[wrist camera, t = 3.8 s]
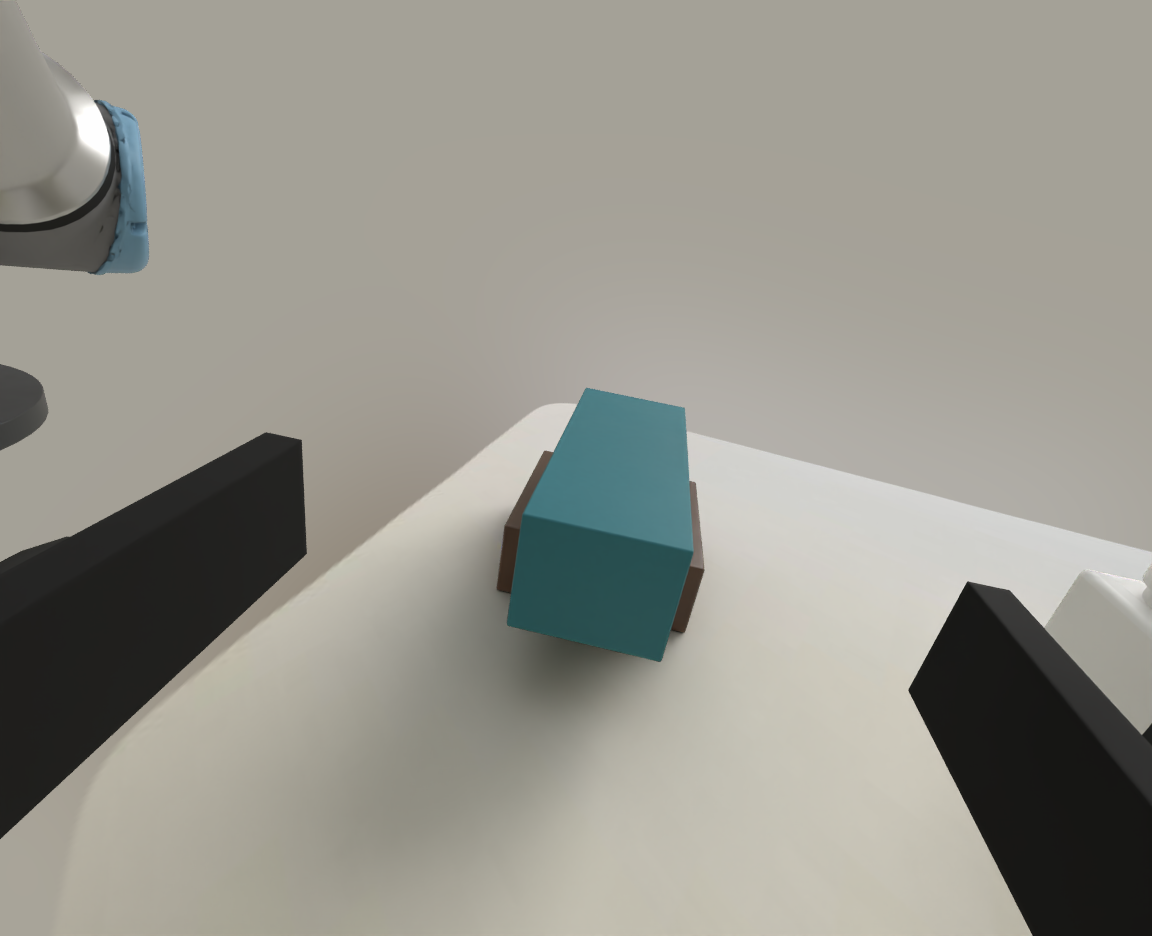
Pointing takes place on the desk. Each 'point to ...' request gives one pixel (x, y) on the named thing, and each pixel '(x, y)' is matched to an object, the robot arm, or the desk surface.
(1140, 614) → the medicine bottle
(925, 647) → the desk surface
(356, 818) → the desk surface
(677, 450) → the teal rectangular prism
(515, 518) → the riser
